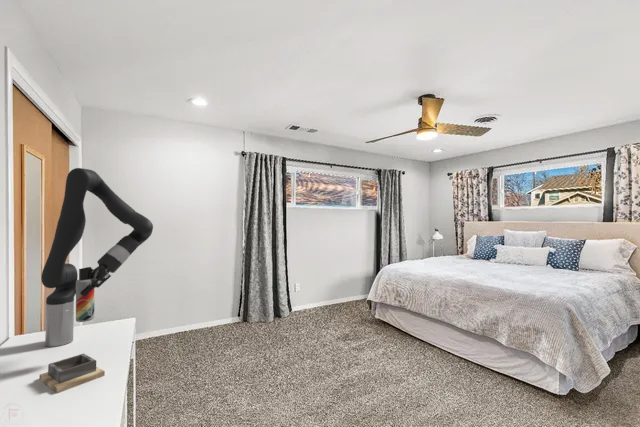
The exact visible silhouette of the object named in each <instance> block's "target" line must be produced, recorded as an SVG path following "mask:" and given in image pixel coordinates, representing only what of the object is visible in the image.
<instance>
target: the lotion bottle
mask: <svg viewBox="0 0 640 427" xmlns="http://www.w3.org/2000/svg"><path fill="white" fill-rule="evenodd" d="M92 269H93V268H92V266H87V267H82V268H79V269H78V279H77V281H76V294H75V322H77V323H85V322H89V321H92V320H94V319H95V288H93V289H92V290H91V291H90V292H89V293H88V294H87V295H86V296H83V295H81V294H80V292H81V291H82V290H84V289H85V288H86V287H87V286H88V287H89V286H90V285H89V283H91V281H92V280H91V278H92Z"/></svg>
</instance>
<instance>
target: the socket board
mask: <svg viewBox="0 0 640 427" xmlns="http://www.w3.org/2000/svg"><path fill="white" fill-rule="evenodd" d="M47 367H48V368H47V371H46V372H43V373H40V374H39V378H38V379H39V380H40V381H41V382H42V381H43V382H42V383H44V384H45V385H46V386H48V387H49V388H50V389H52V390H53V391H54V392H55V393H56V394H59V393H62V392H64V391H66V390H70V389H72V388H74V387H77V386H81V385H83V384H85V383H89V382H91V381H94V380H96V379H100V378H102V377H104V376H105V370H103V369H102V368H100V367H98V366H97V359H94V358H93V357H90V356H89V355H88V354H86V353H81V354H78V355H74V356H71V357H68V358H64V359H61V360H57V361H55V362H51V363H49V364H48V365H47Z"/></svg>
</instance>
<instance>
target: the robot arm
mask: <svg viewBox="0 0 640 427" xmlns="http://www.w3.org/2000/svg"><path fill="white" fill-rule="evenodd" d="M87 192H89V193H91V194H93V195H94V196H96V197H97V198H98V199H99V200H100V201H101V202H102V203H103V204H104V205H105V207H106V209H107V211H109V213H111V215H113V216H114V217H115V218H116V219H118V221H120V222H121V223H122V224H125V225H129V227H131V228H132V229H133V230H132V231H131V232H130V233H129V234H128V235H124V236H123V237H121V238H120V240H118V242H116V243H115V245H113V246H112V247H111V248H109V249H108V250H107V252H105V253H104V254H103V255H102V256H101V257H100V258H99V259H98V260H97V261H96V262H97V264H98V265H97V266H96V267H95V268H92V278H91V280H92V281H91V283H89V285H90V286H89V287H88V286H87V287H86V288H85V289H84V290H82V291H81V292H80V294H81V295H83V296H86V295H87V294H88V293H89V292H90V291H91V290H92V289H93V288H94V289H95V288H99V287H101V286H102V285H103V284H104V283H105V282H107V281H108V280H109V279H110V278H111V277H112V275H111V274H113V273H116V272H117V270H118V269H119V268H120V267H121V266H122V265H123V264H124V263H125V262H126V261H127V260H128V259H129V257H131V255H132V254H133V253H134V252H135V251H136V250H137V248H138V247H140V246H141V245H143V243H145V242H146V241H147V240H148V239H149V238H150V237H151V236H152V234H153V229H154V224H153V223H152V221H151V220H150V219H149V218H147V217H146V216H144V215H143V214H141V213H139V212H138V211H136V210H135V209H133V207H131V206H130V205H129V204H128V203H126V202H125V200H123V199H122V198H121V197H120V196H118V195H117V193H115V191H114V190H112V188H111V187H110V186H108V184H107V183H106V182H105V181H104V179H103V178H102V177H101V176H100V175H99V174H98V173H97V172H96V171H95V170H92V169H89V168H83V167H75V168H72V169H71V170H70V171H69V172H68V174H67V176H66V181H65V189H64V194H63V195H64V197H63V202H62V205H61V209H60V214H59V218H58V221H57V223H56V224H57V225H56V228H55V232H54V236H53V237H54V238H53V240H52V244H51V248H50V251H49V253H48V256H47V259H46V261H45V264H44V266H43V269H42V272H41V277H40V278H41V284H42V285H43V286H44V287H45V288H46V289H54V290H53V291H52V293H50V294H48V296H47V297H46V299H45V337H44V338H45V340H44V341H45V342H44V346H46V347H60V346H64V345H67V344H70V343H72V342H73V341H74V320H75V319H74V314H75V306H74V305H75V297H76V281H77V280H78V279H79V273H78V270H77V268H76V266H75V265H74V264H71V263H66V261H67V259H68V256H69V255H70V253H71V252H72V251H73V249H74V248H75V247H76V246H77V245H78V243H79V242H80V241H81V239H82V237H83V235H84V230H85V227H86V222H87V221H86V220H87V219H86V212H85V209H84V201H85V197H86V194H87ZM110 273H111V274H110Z"/></svg>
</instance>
